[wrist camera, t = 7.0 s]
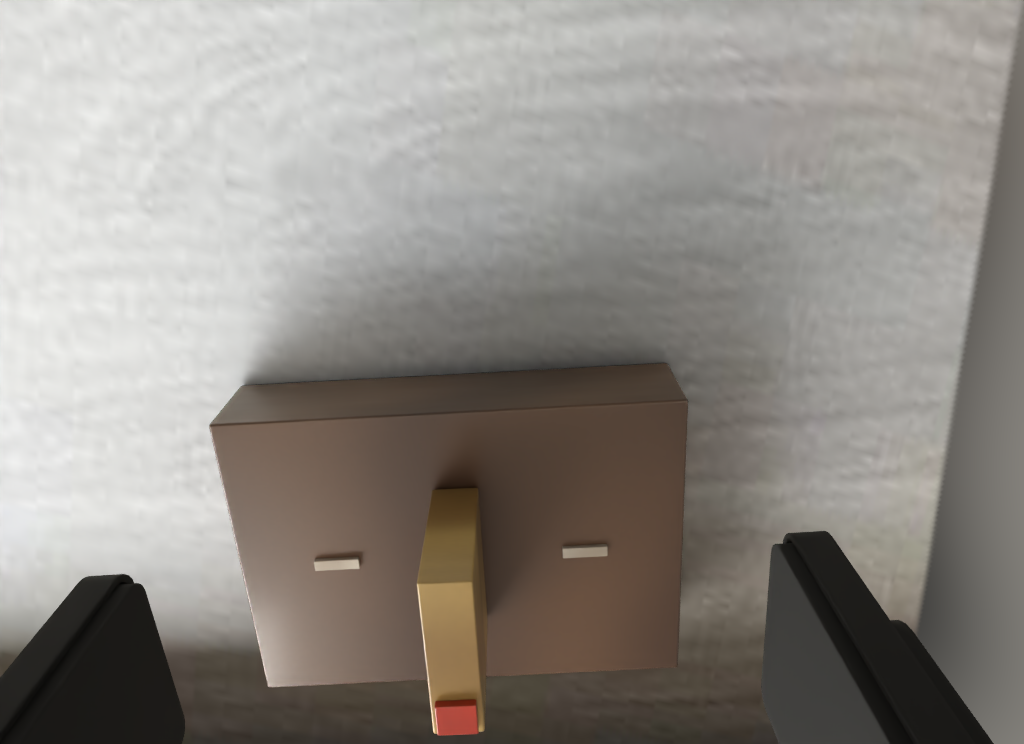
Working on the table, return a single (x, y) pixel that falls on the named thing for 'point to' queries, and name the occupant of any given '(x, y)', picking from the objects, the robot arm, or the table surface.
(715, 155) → the table surface
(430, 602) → the thumbturn
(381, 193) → the table surface
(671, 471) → the lock plate
